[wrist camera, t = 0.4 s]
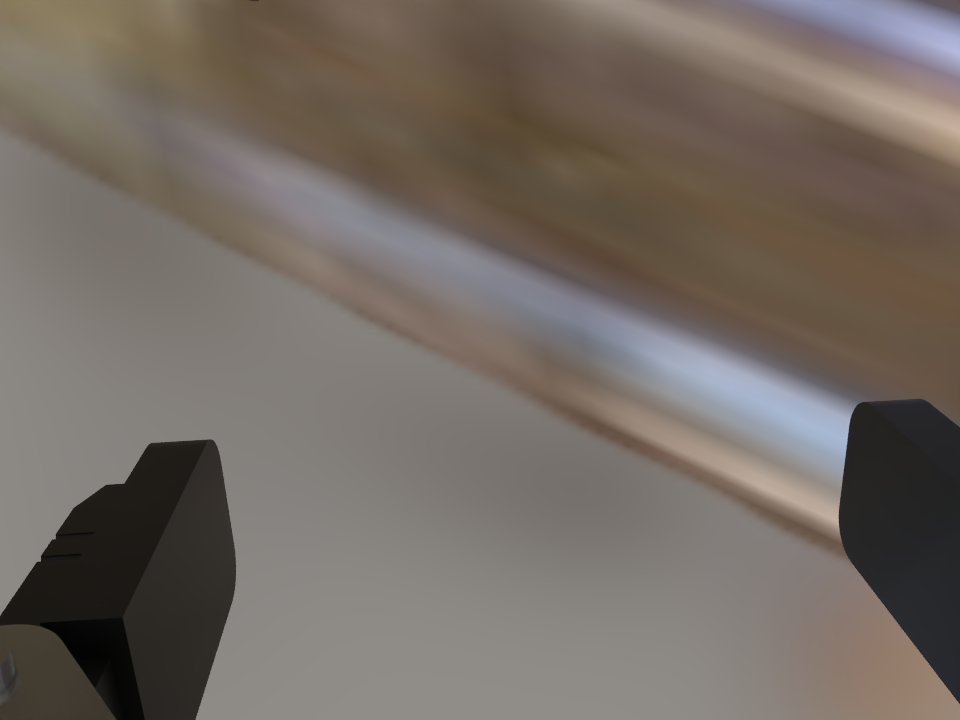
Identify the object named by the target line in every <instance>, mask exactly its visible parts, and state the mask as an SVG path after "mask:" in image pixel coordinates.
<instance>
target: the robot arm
mask: <svg viewBox="0 0 960 720" xmlns="http://www.w3.org/2000/svg"><path fill="white" fill-rule="evenodd" d="M839 529H840V535H841V539H842V543H843V546H844V549H845V552H846V554H847V556H848V558H849V559H850V561H851V562H852V564H853V565H854V566H855V568H856V569H857V570H858V572H859V573H860V574H861V576H862V577H863V578H864V579H865V581H866V582H867V583H868V585H869V586H870V587H871V589H872V590H873V591H874V592H875V594H876V595H877V596H878V598H879V599H880V600H881V602H882V603H883V604H884V605H885V607H886V608H887V610H888V611H889V612H890V613H891V615H892V616H893V617H894V619H895V620H896V621H897V622H898V624H899V625H900V626H901V628H902V629H903V630H904V632H905V633H906V634H907V636H908V637H909V638H910V640H911V641H912V642H913V643H914V645H915V646H916V647H917V649H918V650H919V651H920V653H921V654H922V655H923V657H924V658H925V659H926V660H927V662H928V663H929V664H930V666H931V667H932V668H933V670H934V671H935V672H936V674H937V675H938V676H939V678H940V679H941V680H942V681H943V683H944V684H945V685H946V687H947V688H948V689H949V691H950V692H951V693H952V695H953V696H954V697H955V698H956V700H957V701H958V702H959V704H960V427H959V426H957V425H956V424H955V423H954V422H952V421H951V420H950V419H949V418H947V417H946V416H945V415H944V414H942V413H941V412H940V411H939V410H937V409H936V408H935V407H933V406H932V405H931V404H930V403H928V402H927V401H925V400H923V399H909V400H892V401H876V402H862V403H860V404H858V405H857V406H856V408H855V409H854V411H853V413H852V416H851V420H850V425H849V434H848V442H847V450H846V458H845V466H844V474H843V482H842V490H841V498H840V506H839ZM235 581H236V558H235V548H234V541H233V535H232V529H231V522H230V516H229V510H228V504H227V497H226V491H225V485H224V478H223V472H222V466H221V460H220V455H219V451H218V448H217V446H216V444H215V442H214V441H213V440H195V441H178V442H164V443H163V442H161V443H151V444H149V445H148V446H147V448H146V449H145V451H144V453H143V454H142V456H141V457H140V459H139V461H138V462H137V464H136V466H135V468H134V469H133V471H132V472H131V474H130V476H129V477H128V479H127V480H126V482H125V484H114V485H105V486H104V487H103V488H101V489H100V490H98V491H97V492H96V493H95V494H93V495H92V496H90V497H89V498H87V499H86V500H84V501H83V502H82V503H80V504H79V505H77V506H76V507H75V508H73V510H72V511H71V513H70V514H69V516H68V517H67V519H66V520H65V522H64V523H63V525H62V526H61V527H60V529H59V530H58V532H57V533H56V539H54V540H52V541H51V542H50V544H49V545H48V547H47V548H46V549H45V551H44V552H43V554H42V555H41V562H37V563H36V564H35V566H34V567H33V569H32V570H31V571H30V573H29V574H28V576H27V577H26V579H25V581H24V582H23V583H22V585H21V586H20V588H19V589H18V591H17V592H16V593H15V595H14V596H13V598H12V599H11V601H10V602H9V604H8V605H7V607H6V608H5V610H4V611H3V613H2V614H1V616H0V720H195V719H196V716H197V713H198V710H199V706H200V703H201V700H202V697H203V693H204V690H205V687H206V684H207V681H208V678H209V674H210V671H211V668H212V665H213V662H214V658H215V655H216V652H217V649H218V646H219V642H220V639H221V636H222V633H223V630H224V626H225V623H226V620H227V617H228V613H229V610H230V607H231V604H232V601H233V596H234V591H235Z"/></svg>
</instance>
